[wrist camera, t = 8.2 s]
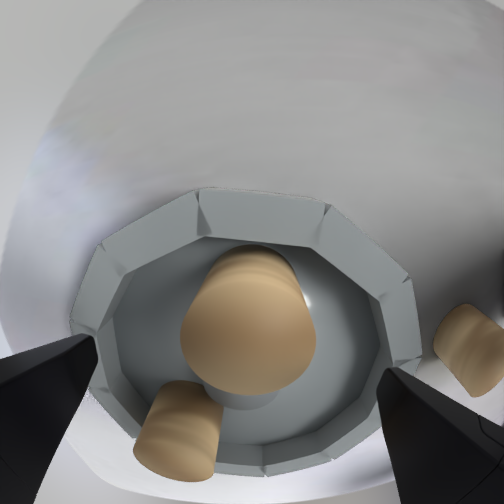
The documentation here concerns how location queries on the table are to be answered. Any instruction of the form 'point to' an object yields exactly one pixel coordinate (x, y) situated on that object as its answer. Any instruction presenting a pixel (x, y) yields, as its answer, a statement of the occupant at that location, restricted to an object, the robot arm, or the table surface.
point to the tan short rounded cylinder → (181, 433)
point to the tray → (317, 300)
